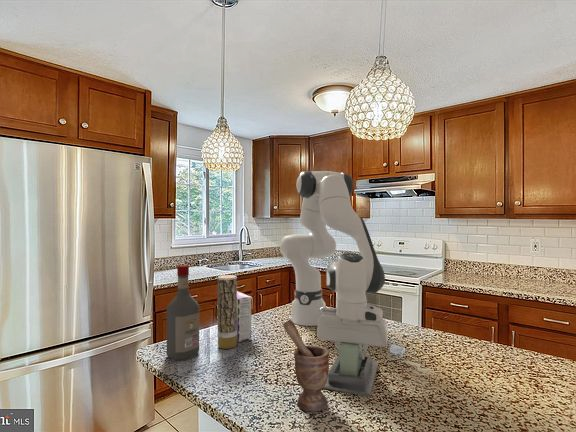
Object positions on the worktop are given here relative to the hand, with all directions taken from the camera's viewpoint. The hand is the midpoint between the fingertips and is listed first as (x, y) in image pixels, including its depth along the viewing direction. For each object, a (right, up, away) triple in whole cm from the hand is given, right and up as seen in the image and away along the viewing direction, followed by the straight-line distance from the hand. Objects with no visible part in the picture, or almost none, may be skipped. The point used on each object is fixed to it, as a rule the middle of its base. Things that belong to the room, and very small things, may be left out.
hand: (351, 357), depth 99 cm
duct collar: (0, -5, 0) cm, 5 cm away
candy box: (-38, -6, +34) cm, 52 cm away
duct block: (0, -4, 0) cm, 4 cm away
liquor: (-54, -6, +16) cm, 56 cm away
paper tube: (-40, -6, +23) cm, 47 cm away
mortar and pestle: (-14, -6, -15) cm, 21 cm away
